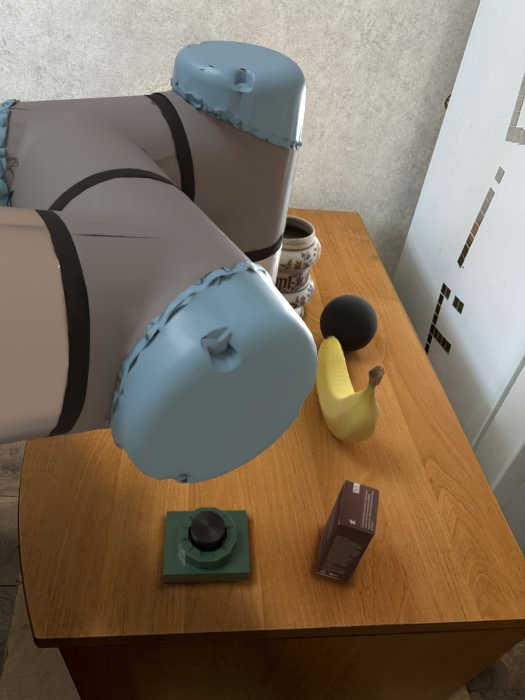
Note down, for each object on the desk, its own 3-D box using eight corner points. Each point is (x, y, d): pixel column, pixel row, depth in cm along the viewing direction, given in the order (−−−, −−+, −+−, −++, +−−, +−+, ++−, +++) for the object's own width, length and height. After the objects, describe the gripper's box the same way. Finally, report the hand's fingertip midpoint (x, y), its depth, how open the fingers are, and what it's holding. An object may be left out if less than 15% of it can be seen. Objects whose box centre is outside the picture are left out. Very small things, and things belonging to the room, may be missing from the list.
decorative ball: (323, 319, 101) (334, 276, 94) (374, 336, 99) (389, 293, 92) (308, 351, 94) (318, 307, 87) (362, 370, 92) (377, 327, 85)
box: (350, 583, 64) (376, 535, 56) (314, 573, 65) (334, 523, 56) (356, 539, 68) (381, 488, 60) (322, 529, 69) (342, 477, 61)
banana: (306, 362, 92) (328, 266, 78) (339, 363, 92) (367, 268, 79) (327, 475, 75) (360, 378, 62) (366, 475, 76) (408, 379, 62)
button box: (163, 582, 62) (162, 567, 59) (167, 519, 68) (166, 503, 65) (248, 580, 63) (251, 565, 60) (244, 518, 69) (247, 502, 66)
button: (190, 551, 61) (190, 542, 60) (190, 519, 64) (191, 510, 63) (224, 550, 62) (225, 542, 60) (223, 519, 65) (224, 510, 63)
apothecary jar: (262, 283, 107) (273, 202, 95) (317, 304, 104) (336, 222, 92) (235, 316, 99) (243, 231, 86) (294, 339, 96) (311, 254, 84)
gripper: (322, 313, 38) (277, 493, 54) (210, 231, 44) (199, 413, 60) (243, 354, 34) (219, 536, 50) (131, 257, 40) (142, 445, 56)
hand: (208, 468), depth 55 cm, fingers closed
